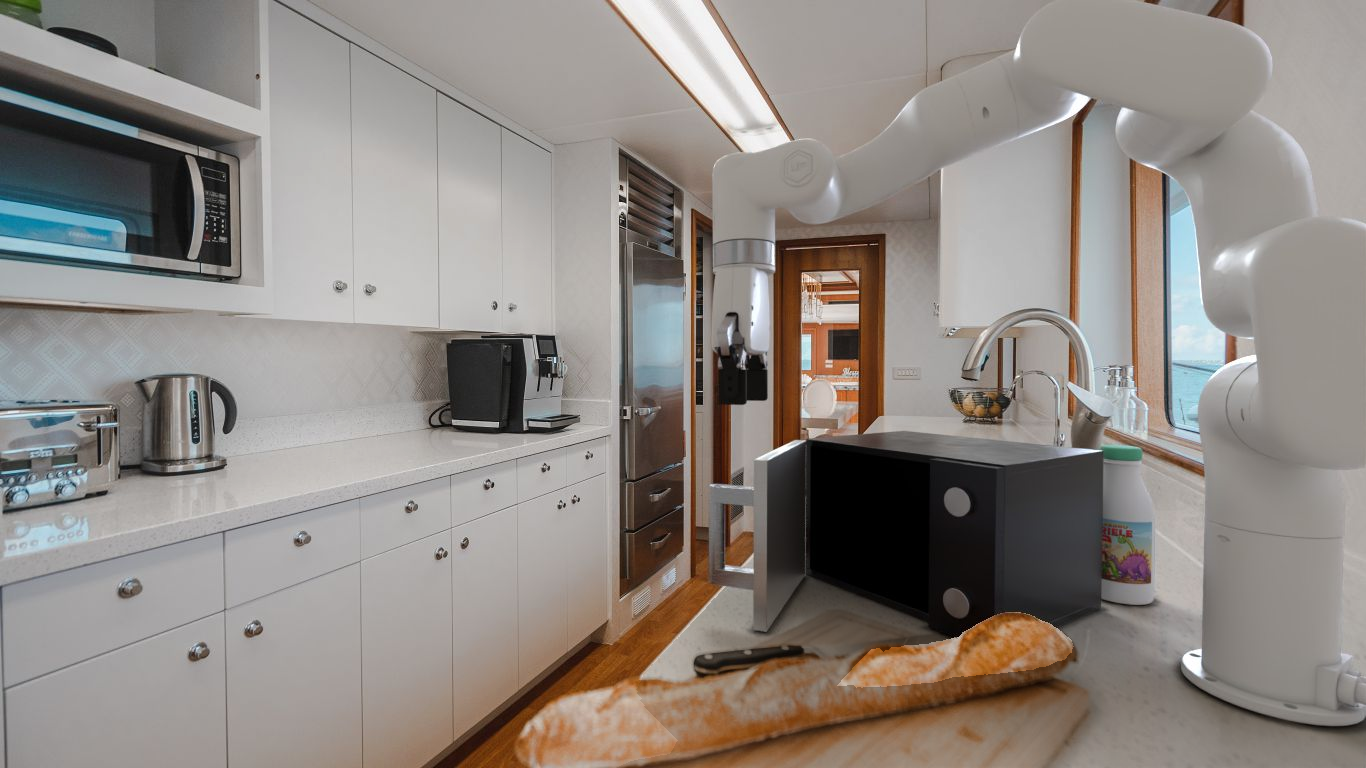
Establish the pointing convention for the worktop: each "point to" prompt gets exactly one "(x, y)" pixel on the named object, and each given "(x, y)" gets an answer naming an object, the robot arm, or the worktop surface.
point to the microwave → (957, 525)
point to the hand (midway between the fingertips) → (744, 402)
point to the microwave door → (765, 531)
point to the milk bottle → (1127, 529)
